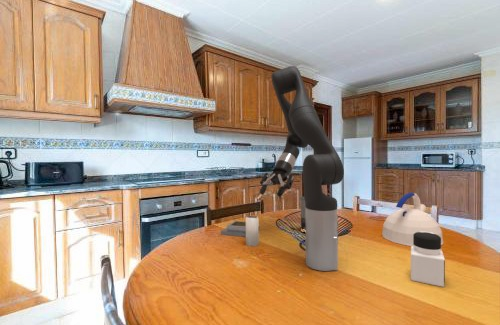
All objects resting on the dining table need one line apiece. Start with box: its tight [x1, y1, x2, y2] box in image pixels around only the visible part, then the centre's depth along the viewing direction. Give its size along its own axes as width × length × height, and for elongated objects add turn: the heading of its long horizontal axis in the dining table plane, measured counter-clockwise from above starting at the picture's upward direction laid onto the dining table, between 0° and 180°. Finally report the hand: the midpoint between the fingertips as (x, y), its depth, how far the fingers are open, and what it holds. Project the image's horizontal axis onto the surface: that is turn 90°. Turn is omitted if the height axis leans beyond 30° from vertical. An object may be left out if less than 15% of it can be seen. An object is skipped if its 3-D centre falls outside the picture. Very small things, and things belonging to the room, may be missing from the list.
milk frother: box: [299, 196, 339, 230], centre depth 113 cm, size 14×16×15 cm
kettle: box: [381, 192, 444, 247], centre depth 101 cm, size 20×21×18 cm
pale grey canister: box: [245, 215, 260, 247], centre depth 97 cm, size 5×5×10 cm
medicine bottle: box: [410, 232, 446, 288], centre depth 68 cm, size 7×7×12 cm
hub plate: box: [220, 220, 246, 238], centre depth 113 cm, size 13×12×4 cm
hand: (269, 194), depth 106 cm, fingers open, 8 cm apart
